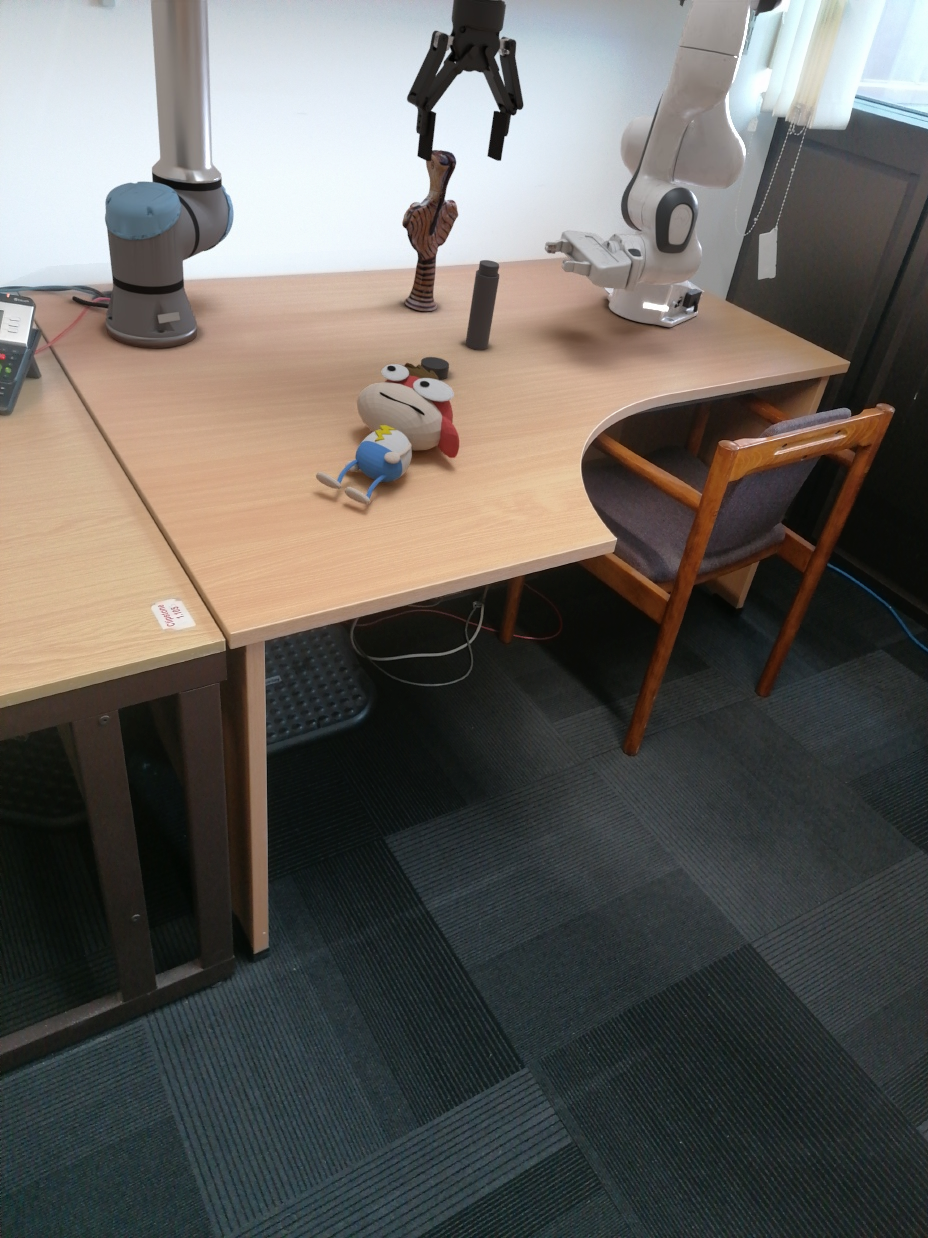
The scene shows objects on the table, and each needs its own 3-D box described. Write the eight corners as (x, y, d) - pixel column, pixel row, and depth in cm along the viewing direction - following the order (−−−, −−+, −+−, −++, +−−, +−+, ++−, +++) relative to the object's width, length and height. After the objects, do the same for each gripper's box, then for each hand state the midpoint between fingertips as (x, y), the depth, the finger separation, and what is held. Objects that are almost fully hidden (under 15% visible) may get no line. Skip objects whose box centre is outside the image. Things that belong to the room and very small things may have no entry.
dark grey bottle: (487, 351, 173) (501, 268, 163) (465, 348, 173) (477, 265, 163) (487, 342, 177) (500, 261, 167) (465, 339, 176) (477, 257, 166)
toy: (278, 428, 121) (396, 343, 140) (277, 485, 128) (389, 398, 148) (391, 486, 117) (497, 391, 136) (384, 542, 124) (485, 444, 143)
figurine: (429, 292, 193) (447, 140, 175) (457, 304, 190) (478, 150, 172) (386, 306, 183) (400, 146, 165) (414, 318, 180) (432, 157, 162)
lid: (415, 367, 162) (417, 357, 161) (441, 367, 164) (443, 356, 163) (425, 380, 159) (426, 369, 157) (451, 379, 160) (453, 368, 159)
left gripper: (422, -10, 117) (406, 165, 130) (563, 7, 130) (535, 164, 144) (392, -19, 122) (379, 151, 135) (531, -2, 135) (507, 151, 148)
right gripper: (604, 223, 177) (539, 220, 173) (646, 261, 162) (577, 258, 159) (596, 255, 181) (533, 253, 177) (637, 295, 167) (569, 293, 163)
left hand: (460, 158), depth 139 cm, fingers open, 13 cm apart
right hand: (554, 255), depth 168 cm, fingers open, 8 cm apart
